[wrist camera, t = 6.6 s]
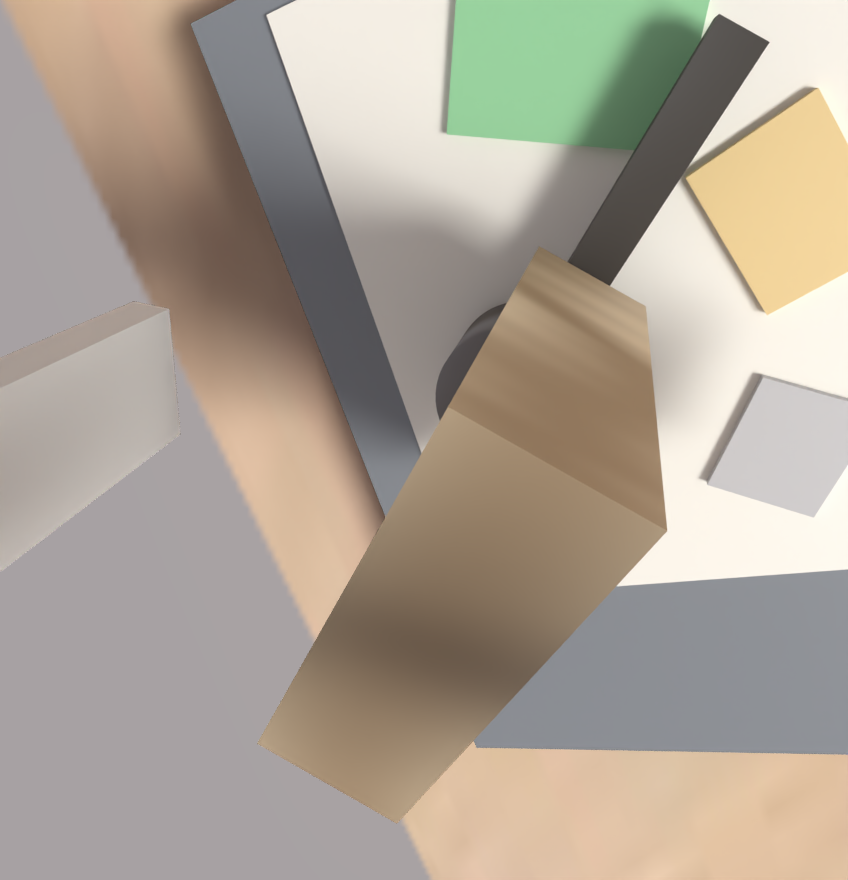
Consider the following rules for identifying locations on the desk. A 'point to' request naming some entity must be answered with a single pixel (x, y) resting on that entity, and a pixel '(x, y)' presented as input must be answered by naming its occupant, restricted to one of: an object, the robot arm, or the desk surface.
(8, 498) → the robot arm
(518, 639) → the wooden block with bar
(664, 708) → the board
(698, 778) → the desk surface
